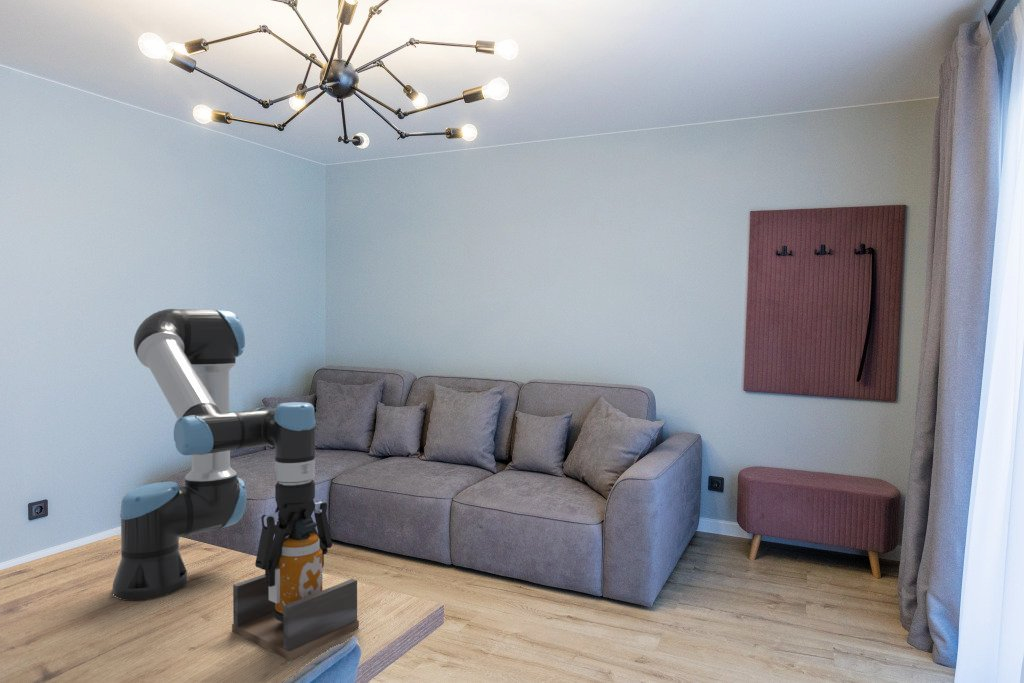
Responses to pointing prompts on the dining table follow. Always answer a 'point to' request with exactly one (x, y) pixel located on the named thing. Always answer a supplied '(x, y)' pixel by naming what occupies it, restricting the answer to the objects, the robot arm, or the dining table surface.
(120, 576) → the robot arm
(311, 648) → the holder
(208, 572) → the dining table surface
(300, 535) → the canister
